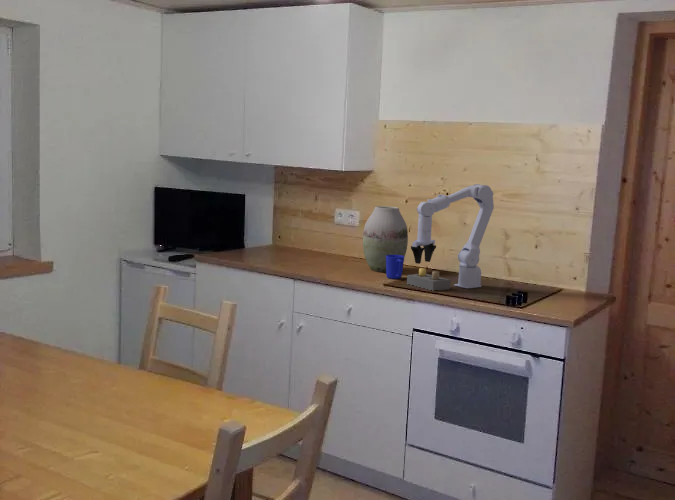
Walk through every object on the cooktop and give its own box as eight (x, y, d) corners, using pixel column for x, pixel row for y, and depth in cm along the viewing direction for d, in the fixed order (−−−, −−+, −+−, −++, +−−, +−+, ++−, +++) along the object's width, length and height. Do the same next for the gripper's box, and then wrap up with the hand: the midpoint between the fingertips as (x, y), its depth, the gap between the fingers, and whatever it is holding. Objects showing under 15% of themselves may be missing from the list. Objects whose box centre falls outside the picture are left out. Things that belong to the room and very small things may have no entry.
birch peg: (435, 280, 308) (435, 271, 307) (440, 281, 305) (440, 272, 305) (430, 280, 306) (430, 271, 305) (435, 282, 303) (435, 272, 303)
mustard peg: (422, 277, 314) (422, 268, 313) (427, 278, 312) (427, 269, 311) (417, 277, 312) (417, 268, 312) (421, 278, 310) (422, 269, 309)
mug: (391, 281, 318) (392, 258, 316) (382, 276, 329) (383, 254, 328) (408, 281, 320) (410, 258, 318) (399, 276, 331) (400, 254, 330)
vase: (395, 266, 360) (398, 205, 355) (413, 273, 340) (417, 209, 335) (354, 266, 353) (357, 204, 349) (370, 274, 333) (374, 209, 329)
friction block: (423, 282, 318) (424, 273, 318) (450, 289, 306) (450, 279, 305) (406, 284, 312) (407, 275, 312) (432, 291, 300) (433, 281, 299)
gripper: (425, 228, 314) (424, 259, 316) (406, 230, 303) (405, 262, 304) (439, 230, 309) (437, 261, 311) (421, 232, 298) (419, 265, 300)
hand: (422, 262), depth 308 cm, fingers open, 7 cm apart
